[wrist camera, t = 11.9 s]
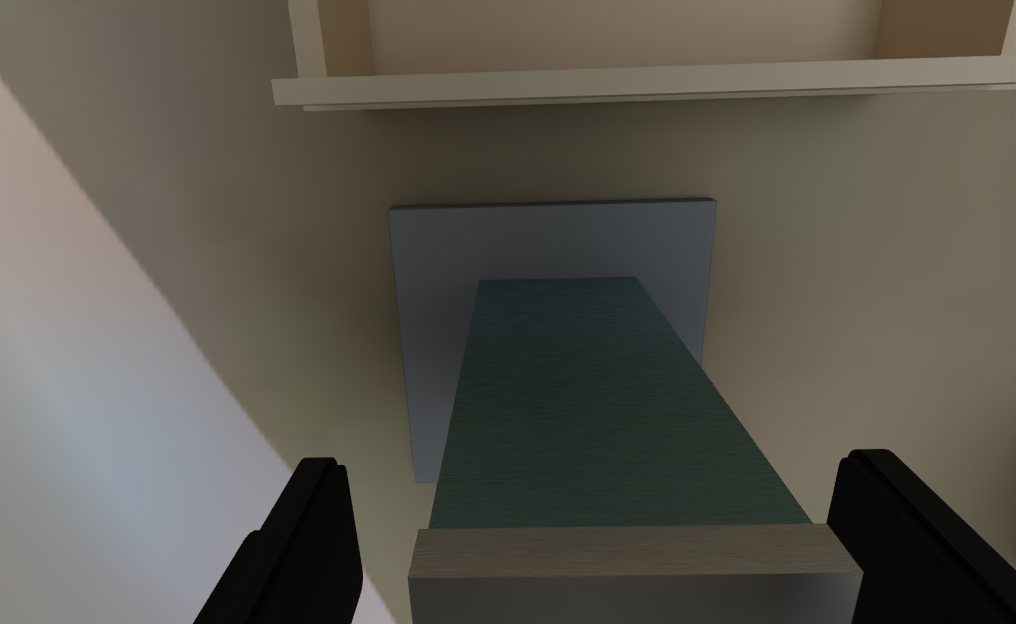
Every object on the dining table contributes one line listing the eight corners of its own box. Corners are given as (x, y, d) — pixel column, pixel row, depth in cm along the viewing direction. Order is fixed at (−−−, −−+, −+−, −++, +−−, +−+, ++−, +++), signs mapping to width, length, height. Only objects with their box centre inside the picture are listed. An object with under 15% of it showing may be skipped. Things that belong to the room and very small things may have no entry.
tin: (475, 277, 18) (408, 578, 6) (639, 273, 18) (863, 572, 6) (482, 419, 20) (437, 854, 8) (631, 417, 20) (795, 851, 8)
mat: (391, 206, 18) (388, 210, 17) (710, 198, 18) (716, 201, 17) (418, 473, 21) (415, 482, 21) (685, 467, 21) (689, 477, 20)
